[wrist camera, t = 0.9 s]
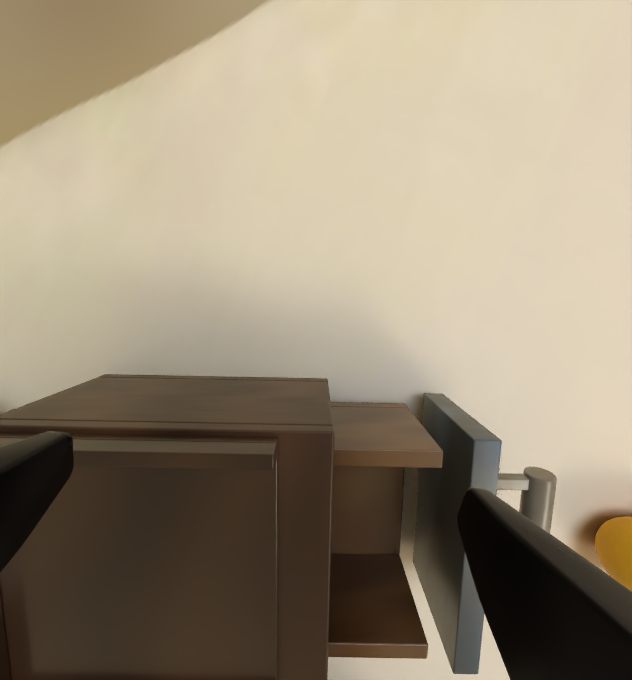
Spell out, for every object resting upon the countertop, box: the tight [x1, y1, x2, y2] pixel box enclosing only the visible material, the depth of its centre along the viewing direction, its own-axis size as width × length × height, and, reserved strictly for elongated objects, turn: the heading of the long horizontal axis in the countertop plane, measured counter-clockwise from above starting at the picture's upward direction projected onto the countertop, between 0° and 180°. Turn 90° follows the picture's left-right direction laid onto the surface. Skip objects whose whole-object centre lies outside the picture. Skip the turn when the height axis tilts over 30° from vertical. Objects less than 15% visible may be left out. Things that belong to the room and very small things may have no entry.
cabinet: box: [0, 374, 334, 680], centre depth 18 cm, size 14×13×8 cm
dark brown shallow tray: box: [0, 432, 279, 680], centre depth 13 cm, size 12×12×2 cm
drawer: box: [328, 393, 557, 674], centre depth 18 cm, size 18×12×7 cm, turn 89°
